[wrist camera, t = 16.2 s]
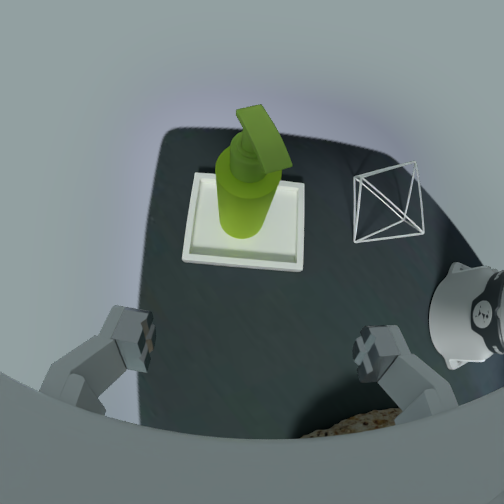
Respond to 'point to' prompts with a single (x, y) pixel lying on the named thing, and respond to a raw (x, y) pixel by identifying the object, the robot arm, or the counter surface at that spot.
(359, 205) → the geometric polyhedron
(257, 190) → the soap dispenser
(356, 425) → the rock
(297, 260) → the tray
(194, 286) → the counter surface
